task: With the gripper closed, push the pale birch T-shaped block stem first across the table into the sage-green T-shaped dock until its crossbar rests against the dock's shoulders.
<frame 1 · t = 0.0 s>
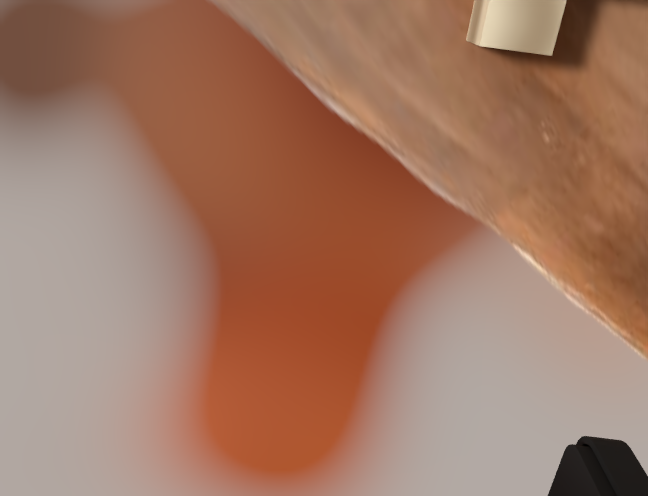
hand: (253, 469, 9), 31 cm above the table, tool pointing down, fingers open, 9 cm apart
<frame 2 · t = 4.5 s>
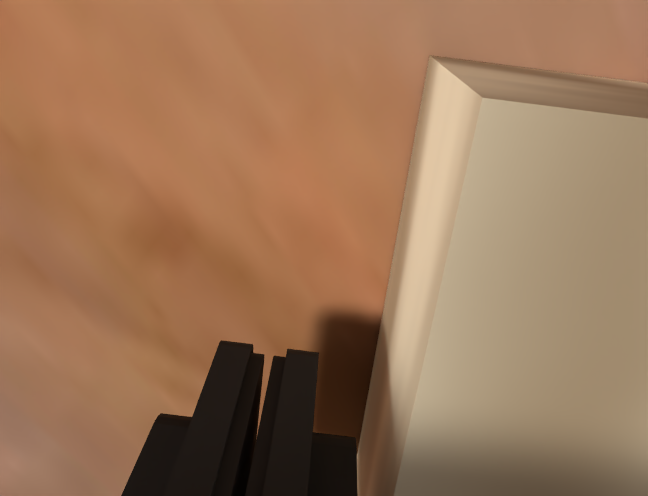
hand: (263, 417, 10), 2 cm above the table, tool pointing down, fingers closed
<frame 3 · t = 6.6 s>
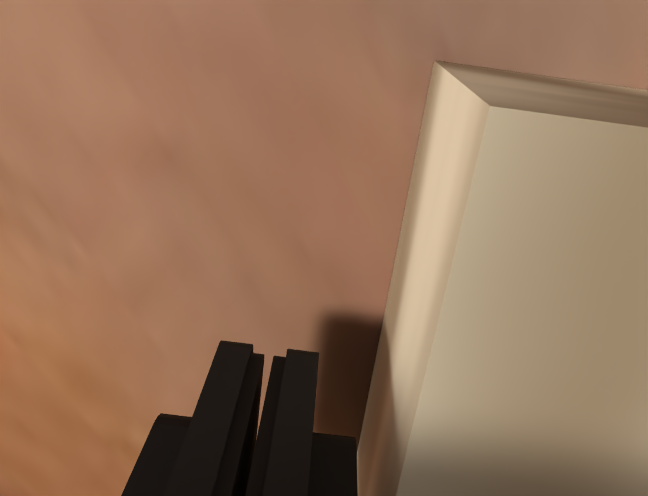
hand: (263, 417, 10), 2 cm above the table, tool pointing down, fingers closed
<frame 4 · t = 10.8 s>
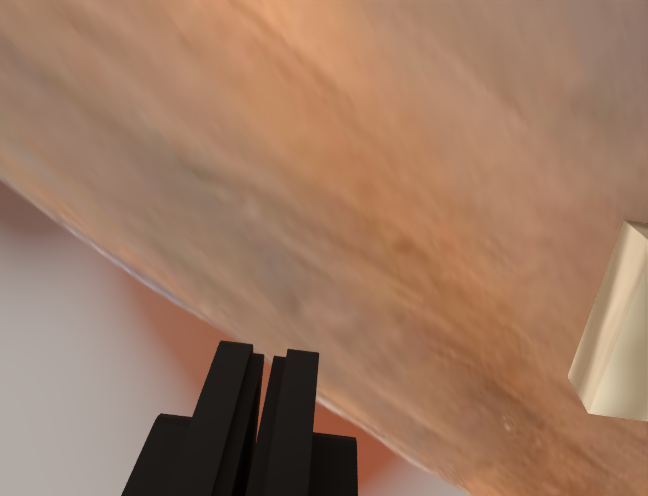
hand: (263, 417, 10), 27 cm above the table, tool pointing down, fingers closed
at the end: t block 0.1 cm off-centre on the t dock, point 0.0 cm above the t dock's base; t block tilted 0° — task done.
